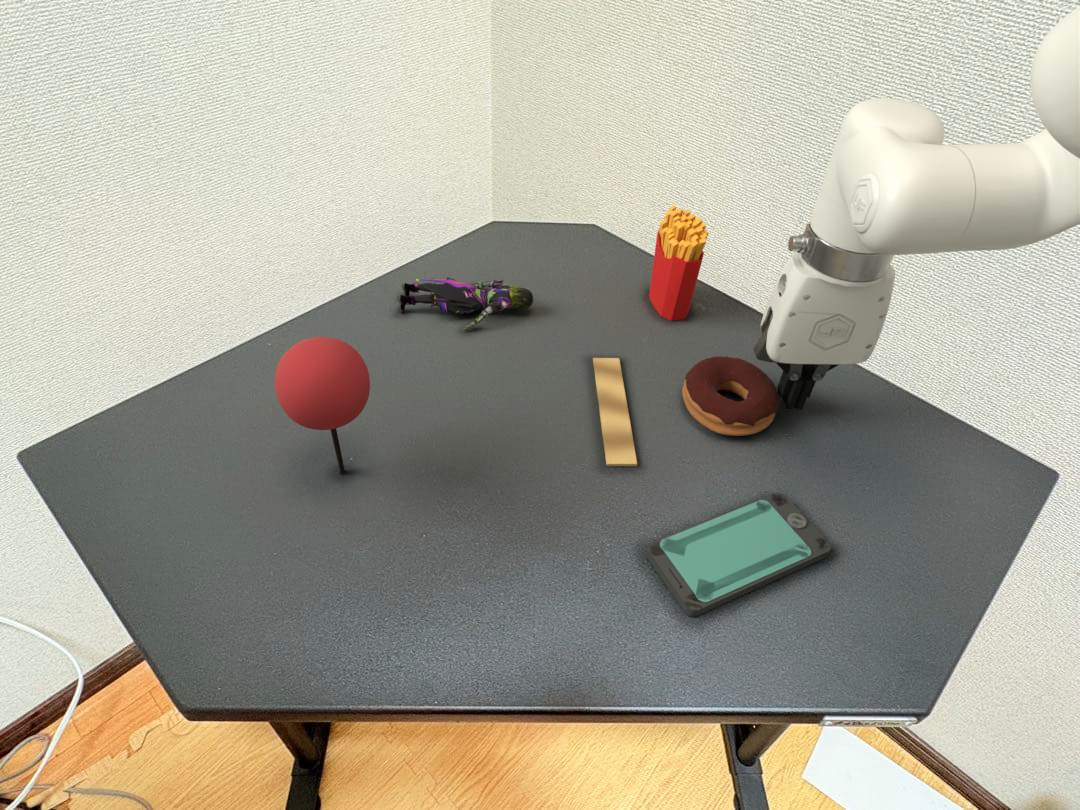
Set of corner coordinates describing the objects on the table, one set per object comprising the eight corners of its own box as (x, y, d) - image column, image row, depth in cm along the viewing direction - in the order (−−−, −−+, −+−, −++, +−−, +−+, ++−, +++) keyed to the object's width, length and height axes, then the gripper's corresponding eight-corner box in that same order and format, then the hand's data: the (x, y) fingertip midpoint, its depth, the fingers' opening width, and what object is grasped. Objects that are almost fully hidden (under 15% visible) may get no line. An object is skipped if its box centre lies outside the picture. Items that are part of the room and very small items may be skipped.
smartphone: (834, 547, 63) (692, 611, 58) (830, 555, 64) (689, 619, 59) (779, 487, 68) (643, 541, 63) (776, 496, 69) (641, 550, 63)
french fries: (642, 288, 93) (656, 202, 85) (671, 285, 94) (687, 199, 85) (667, 328, 87) (684, 240, 79) (697, 324, 88) (718, 236, 79)
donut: (780, 446, 73) (791, 418, 71) (682, 437, 74) (689, 409, 71) (767, 380, 81) (776, 353, 78) (678, 373, 81) (684, 345, 78)
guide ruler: (636, 466, 71) (637, 463, 70) (606, 466, 71) (606, 463, 70) (619, 360, 82) (619, 357, 82) (592, 360, 82) (593, 357, 82)
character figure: (395, 330, 85) (531, 334, 85) (390, 304, 83) (530, 307, 82) (410, 285, 92) (536, 288, 91) (406, 259, 90) (535, 262, 89)
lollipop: (386, 496, 67) (365, 373, 57) (300, 508, 66) (263, 384, 55) (381, 437, 72) (361, 315, 62) (302, 447, 71) (268, 324, 61)
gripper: (774, 272, 61) (727, 425, 74) (948, 275, 62) (871, 426, 74) (753, 225, 66) (713, 375, 79) (913, 229, 67) (848, 377, 80)
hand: (790, 400), depth 77 cm, fingers closed
